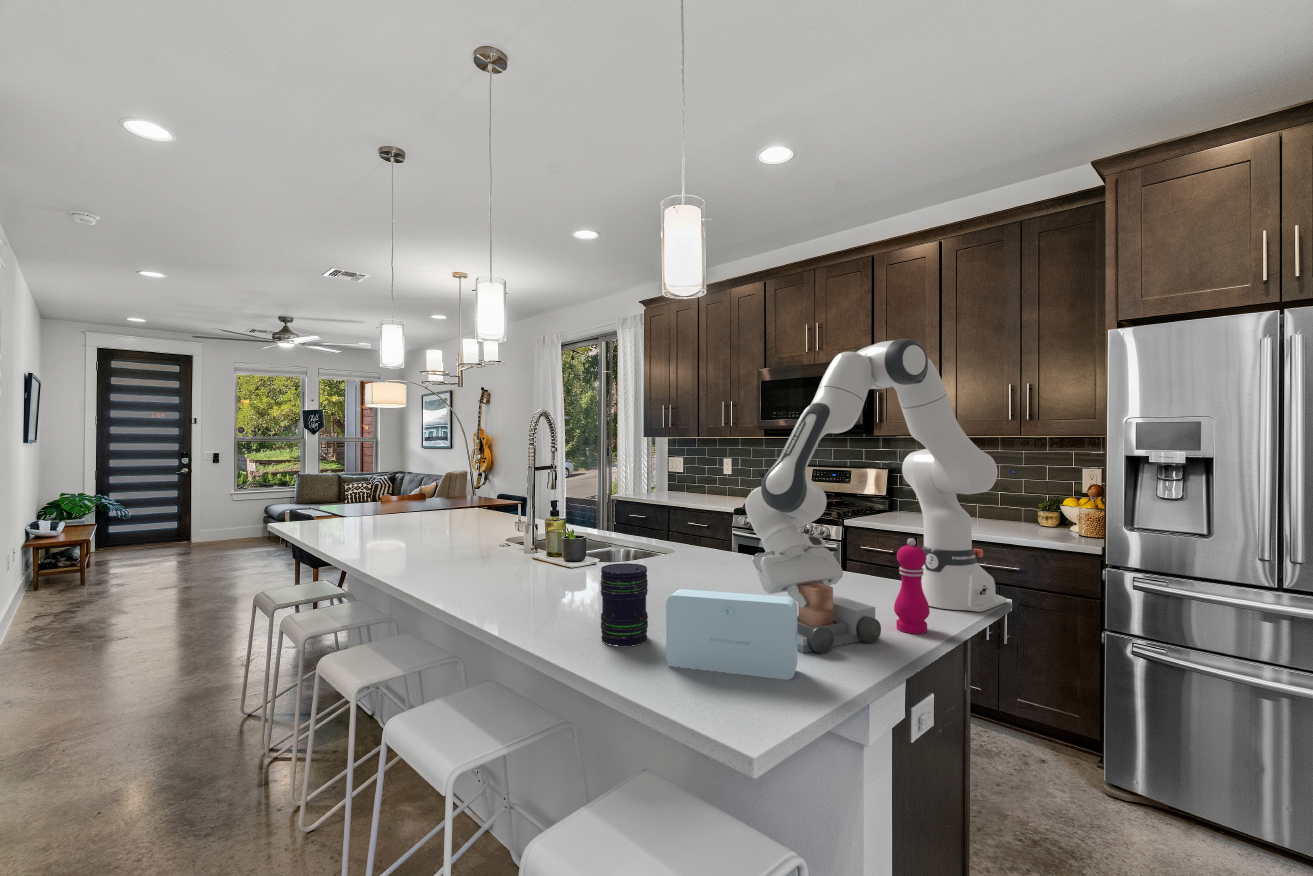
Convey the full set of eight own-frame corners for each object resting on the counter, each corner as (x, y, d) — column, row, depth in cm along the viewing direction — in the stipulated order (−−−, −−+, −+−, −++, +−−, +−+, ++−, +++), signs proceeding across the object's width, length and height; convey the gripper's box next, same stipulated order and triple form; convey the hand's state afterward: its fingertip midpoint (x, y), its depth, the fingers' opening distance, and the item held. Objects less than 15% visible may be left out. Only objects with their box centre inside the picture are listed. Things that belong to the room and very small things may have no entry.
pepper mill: (888, 630, 139) (888, 538, 139) (901, 622, 144) (901, 534, 144) (922, 637, 134) (922, 542, 134) (934, 629, 139) (934, 538, 139)
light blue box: (665, 668, 117) (664, 595, 117) (673, 657, 122) (673, 588, 122) (794, 682, 109) (794, 605, 109) (797, 670, 115) (797, 597, 115)
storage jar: (592, 643, 130) (592, 570, 130) (612, 630, 139) (611, 562, 139) (637, 649, 127) (637, 574, 127) (654, 634, 136) (654, 565, 136)
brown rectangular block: (816, 619, 137) (816, 582, 137) (833, 625, 133) (833, 587, 133) (798, 622, 135) (798, 585, 135) (814, 629, 131) (814, 590, 131)
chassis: (826, 619, 147) (826, 591, 147) (884, 640, 132) (884, 609, 131) (756, 632, 137) (756, 602, 137) (810, 656, 122) (809, 622, 122)
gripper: (755, 545, 135) (785, 602, 127) (828, 537, 145) (860, 589, 136) (743, 562, 139) (771, 618, 130) (814, 554, 149) (845, 605, 140)
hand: (817, 603), depth 133 cm, fingers closed on brown rectangular block, 5 cm apart
